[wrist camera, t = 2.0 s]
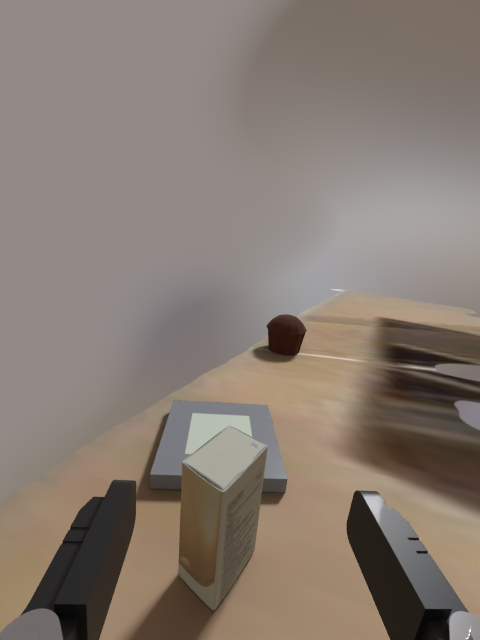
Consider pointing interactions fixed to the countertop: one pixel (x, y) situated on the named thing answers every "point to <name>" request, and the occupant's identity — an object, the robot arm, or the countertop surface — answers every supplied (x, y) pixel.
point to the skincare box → (220, 512)
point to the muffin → (285, 334)
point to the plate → (200, 426)
